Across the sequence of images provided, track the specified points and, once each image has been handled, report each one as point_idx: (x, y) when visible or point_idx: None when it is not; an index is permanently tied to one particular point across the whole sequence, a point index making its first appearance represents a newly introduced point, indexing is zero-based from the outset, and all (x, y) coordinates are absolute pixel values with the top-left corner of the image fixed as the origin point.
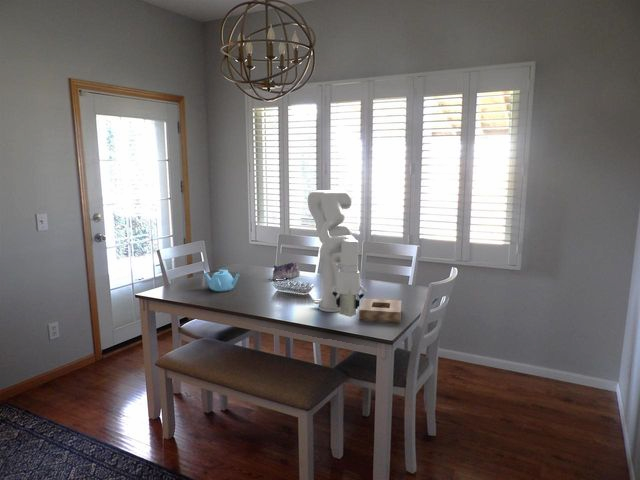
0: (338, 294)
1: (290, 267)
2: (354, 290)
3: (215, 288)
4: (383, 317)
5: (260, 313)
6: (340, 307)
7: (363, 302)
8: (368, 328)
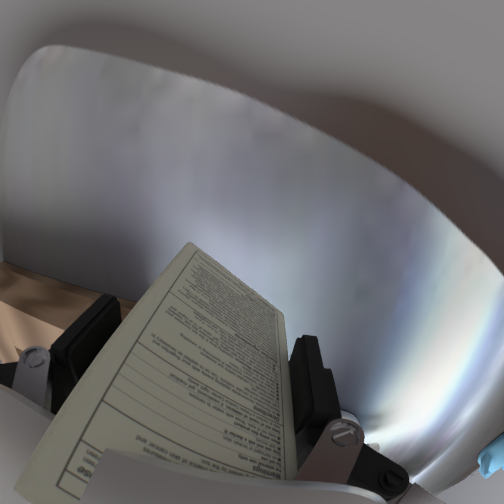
0: (328, 474)
1: None
2: None
3: None
4: (32, 288)
5: None
6: (280, 345)
7: None
8: (92, 171)
